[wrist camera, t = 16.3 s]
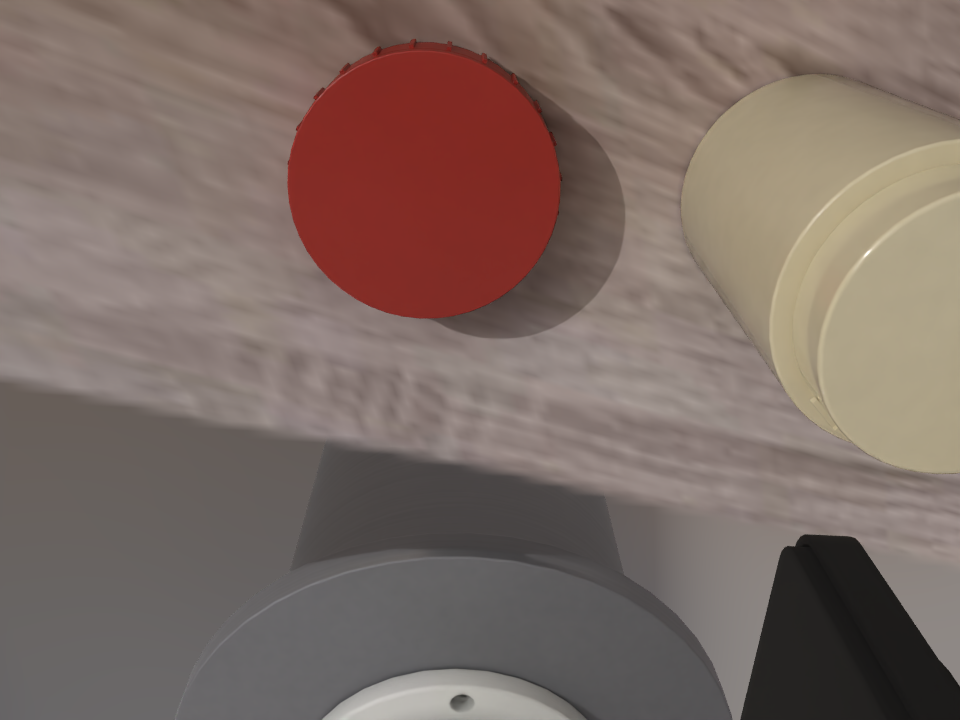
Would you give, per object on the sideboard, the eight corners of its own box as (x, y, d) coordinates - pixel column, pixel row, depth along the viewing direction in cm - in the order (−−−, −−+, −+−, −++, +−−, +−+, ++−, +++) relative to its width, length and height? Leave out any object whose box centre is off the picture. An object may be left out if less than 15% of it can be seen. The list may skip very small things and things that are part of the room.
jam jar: (884, 312, 26) (1092, 500, 17) (663, 300, 26) (763, 486, 17) (948, 82, 23) (1232, 169, 15) (701, 65, 23) (843, 145, 14)
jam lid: (293, 30, 22) (280, 38, 21) (569, 48, 23) (577, 56, 21) (300, 290, 25) (288, 314, 24) (544, 302, 26) (549, 327, 24)
